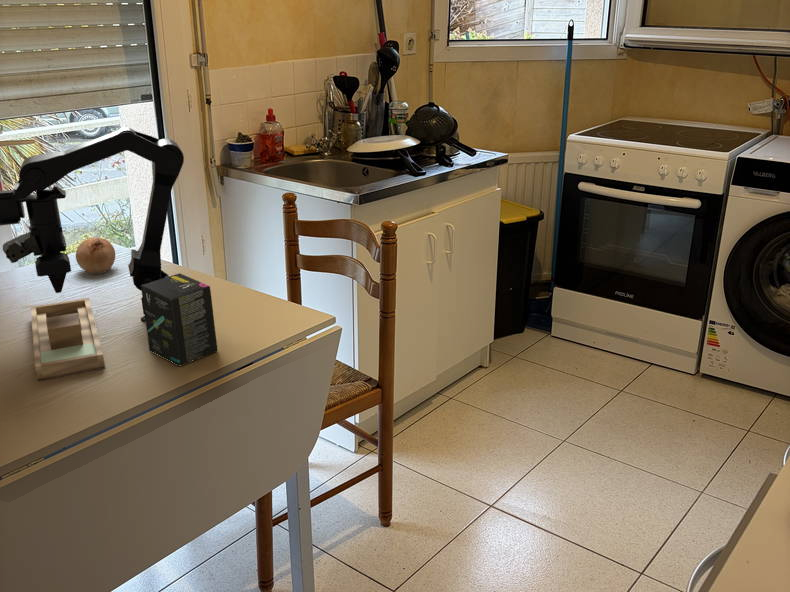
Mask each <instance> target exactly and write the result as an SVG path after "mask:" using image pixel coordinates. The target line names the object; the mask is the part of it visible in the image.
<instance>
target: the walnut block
mask: <svg viewBox="0 0 790 592" xmlns="http://www.w3.org/2000/svg"><path fill="white" fill-rule="evenodd" d="M46 322H47V330H48V335H49V341H50V346H51V350H55V349H60V348H66V347H72V346H77V345H83V339H82V333H81V327H80V322H79V317H78V313H73V314H67V315H61V316H55V317H49V318H46Z"/></svg>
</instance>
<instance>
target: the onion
mask: <svg viewBox="0 0 790 592" xmlns="http://www.w3.org/2000/svg"><path fill="white" fill-rule="evenodd" d="M75 260H76V263H77V266H79V267H80V269H81V270H83V271H84V272H85V273H86V274H102V273H103V274H104V273H106V272H108V271H109V270H110V269H111V268H112V266H113V265H114V263H115V261H116V250H115V248H114V246H113V244H112V243H111V242H110V241H109V240H107V239H105V238H102V237H98V236H97V237H94V236H93V237H89V238H87V239H85V240H83V241H81V243H80V244H79V245H78V247H77V249H76V252H75Z"/></svg>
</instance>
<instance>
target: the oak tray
mask: <svg viewBox="0 0 790 592" xmlns="http://www.w3.org/2000/svg"><path fill="white" fill-rule="evenodd" d="M73 313H78V317H79V322H80V327H81V333H82V339H83V344H89V343H94V345H95V349H96V353H94V354H89V355H83V356H78V357H72V358H67V359H61V360H56V361H50V362H45V363H41V353H40V352H43V351H49V350H51V346H50V341H49V335H48V330H47V322H46V318H49V317H55V316H61V315H67V314H73ZM93 313H94V312H93V308H92V305H91V301H90V298H89V297H87V298H79V299H72V300H65V301H60V302H54V303H47V304H42V305H41V304H39V305H34V306H30V315H31V316H30V317H31V328H32V329H31V330H32V343H33V356H34V357H33V358H34V368H35V372H36V377H37V381H43V380H44V381H45V380H48V379H53V378H61V377H65V376H71V375H77V374H81V373H86V372H85V371H87V372H90V371H91V370H92V371H96V370H102V369H105V368H106V367H105V360H104V359H105V358H104V353H103V349H102V346H101V341H100V337H99V334H98V333H99V332H98V330H97V326H96V322H95V317H94V314H93Z"/></svg>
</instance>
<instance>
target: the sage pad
mask: <svg viewBox="0 0 790 592" xmlns="http://www.w3.org/2000/svg"><path fill="white" fill-rule="evenodd" d="M40 353H41V363H45V362H50V361H56V360H61V359H67V358H72V357H78V356H83V355H89V354H94V353H96V349H95V345H94V343H89V344H83V345H77V346H72V347H66V348H60V349H55V350H49V351H43V352H40Z"/></svg>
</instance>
